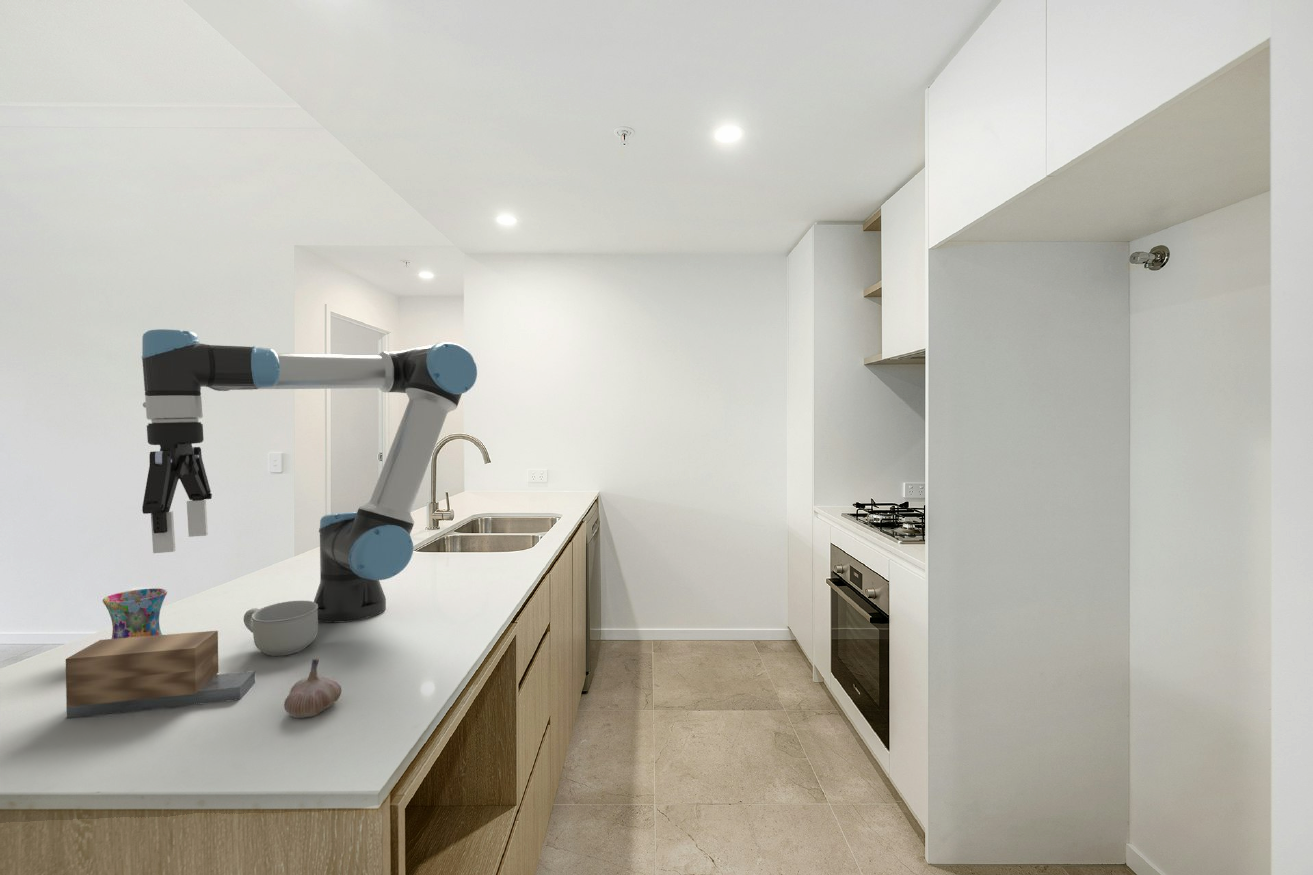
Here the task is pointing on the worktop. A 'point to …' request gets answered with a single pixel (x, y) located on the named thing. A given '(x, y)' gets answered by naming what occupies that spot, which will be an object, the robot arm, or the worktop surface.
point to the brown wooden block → (141, 668)
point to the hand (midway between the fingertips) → (182, 543)
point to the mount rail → (176, 697)
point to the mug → (135, 612)
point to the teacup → (283, 626)
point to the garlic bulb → (312, 694)
